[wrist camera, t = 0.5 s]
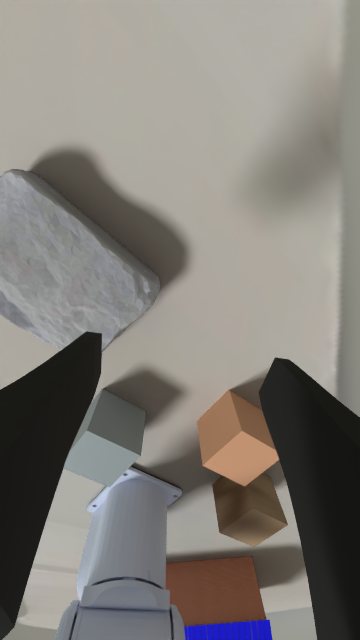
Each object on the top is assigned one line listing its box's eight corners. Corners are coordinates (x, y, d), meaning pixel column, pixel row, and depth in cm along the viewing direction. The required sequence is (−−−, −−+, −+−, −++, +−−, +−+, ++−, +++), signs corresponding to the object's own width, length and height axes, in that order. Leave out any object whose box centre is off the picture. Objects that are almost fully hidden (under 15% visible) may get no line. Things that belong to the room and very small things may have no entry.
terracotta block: (232, 440, 27) (244, 486, 23) (196, 420, 26) (202, 465, 21) (264, 411, 26) (284, 455, 21) (228, 389, 24) (241, 430, 20)
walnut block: (242, 498, 32) (254, 547, 27) (212, 483, 30) (219, 532, 26) (270, 476, 30) (287, 524, 26) (240, 460, 29) (252, 508, 24)
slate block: (120, 439, 27) (109, 487, 22) (78, 419, 25) (57, 466, 21) (146, 411, 25) (140, 455, 21) (102, 388, 24) (86, 430, 19)
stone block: (108, 345, 24) (173, 273, 19) (86, 381, 20) (162, 301, 15) (-8, 264, 21) (36, 156, 16) (-62, 287, 17) (-24, 152, 12)
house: (121, 564, 38) (101, 704, 27) (253, 553, 38) (286, 689, 27) (134, 599, 43) (121, 729, 32) (250, 589, 42) (277, 717, 32)
